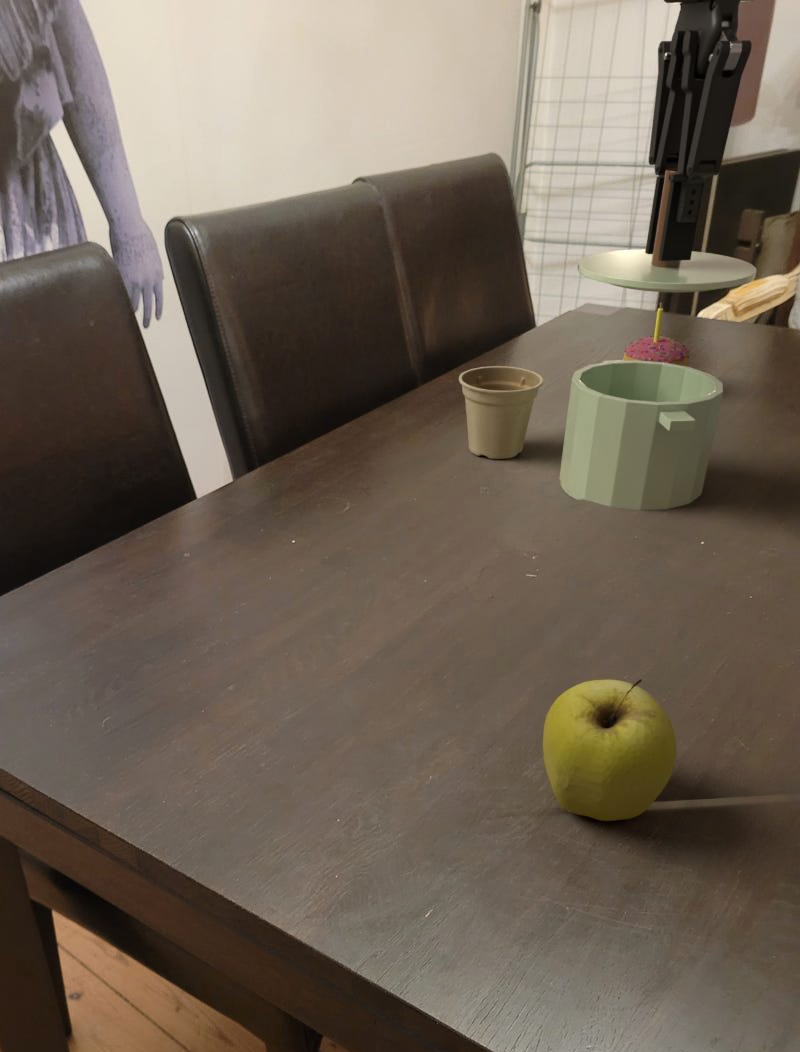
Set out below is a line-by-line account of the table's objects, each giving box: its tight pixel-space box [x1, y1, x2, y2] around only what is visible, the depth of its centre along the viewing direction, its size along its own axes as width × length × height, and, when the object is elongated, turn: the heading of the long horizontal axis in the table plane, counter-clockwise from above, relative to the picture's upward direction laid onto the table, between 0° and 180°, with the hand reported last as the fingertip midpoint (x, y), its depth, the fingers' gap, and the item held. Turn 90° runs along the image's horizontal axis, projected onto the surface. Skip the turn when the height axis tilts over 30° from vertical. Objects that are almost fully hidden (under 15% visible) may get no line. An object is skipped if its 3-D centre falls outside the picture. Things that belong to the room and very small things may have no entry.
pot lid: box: [577, 168, 757, 293], centre depth 87 cm, size 16×16×9 cm
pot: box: [559, 359, 724, 511], centre depth 100 cm, size 15×20×12 cm
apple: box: [542, 678, 677, 822], centre depth 58 cm, size 8×8×10 cm
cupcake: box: [622, 302, 691, 367], centre depth 128 cm, size 9×8×12 cm
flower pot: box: [458, 365, 544, 460], centre depth 111 cm, size 9×9×9 cm
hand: (667, 255), depth 89 cm, fingers closed on pot lid, 3 cm apart
